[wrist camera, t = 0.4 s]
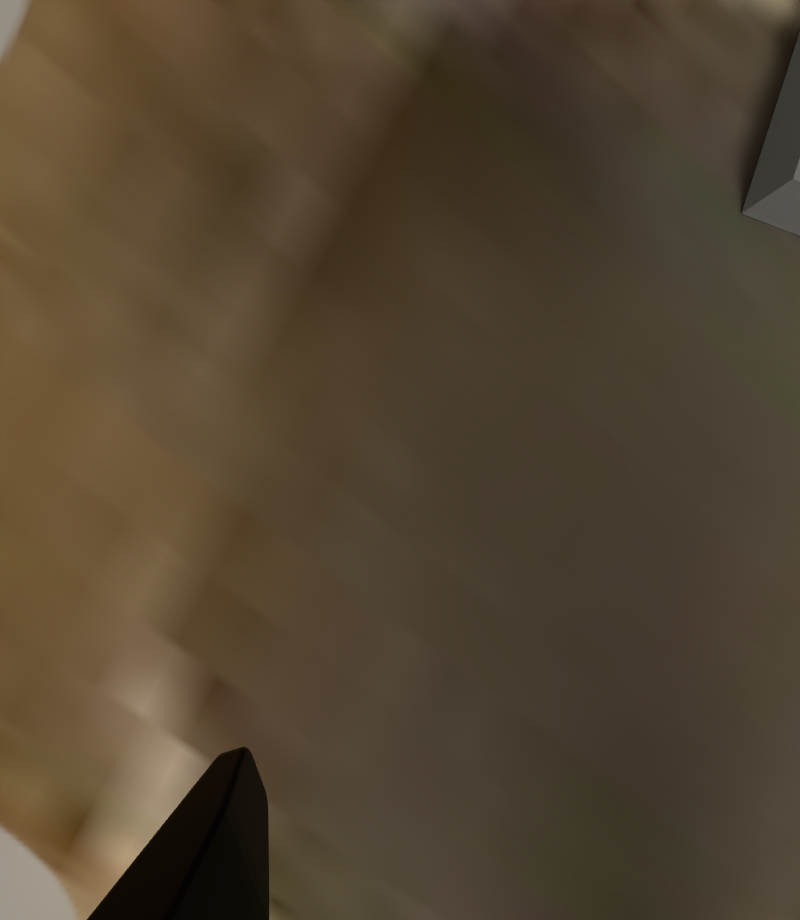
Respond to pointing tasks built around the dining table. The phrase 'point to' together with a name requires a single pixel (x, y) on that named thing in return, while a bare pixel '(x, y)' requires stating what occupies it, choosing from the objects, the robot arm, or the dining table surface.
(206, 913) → the robot arm
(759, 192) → the mug coaster tray
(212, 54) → the dining table surface
